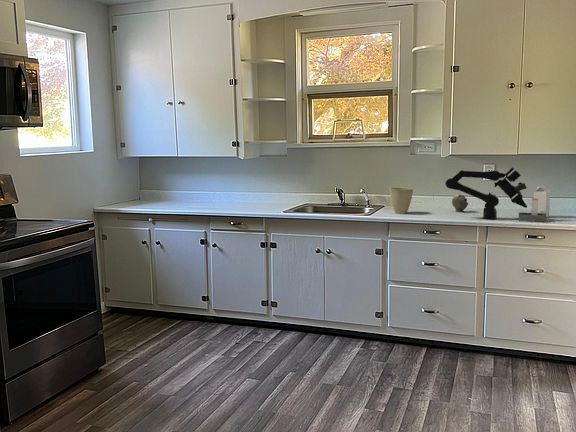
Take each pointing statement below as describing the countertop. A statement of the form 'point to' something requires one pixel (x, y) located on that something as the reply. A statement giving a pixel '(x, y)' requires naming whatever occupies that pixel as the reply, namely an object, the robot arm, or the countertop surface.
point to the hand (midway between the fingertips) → (526, 207)
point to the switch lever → (534, 206)
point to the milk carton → (543, 199)
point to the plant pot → (401, 199)
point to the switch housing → (533, 217)
